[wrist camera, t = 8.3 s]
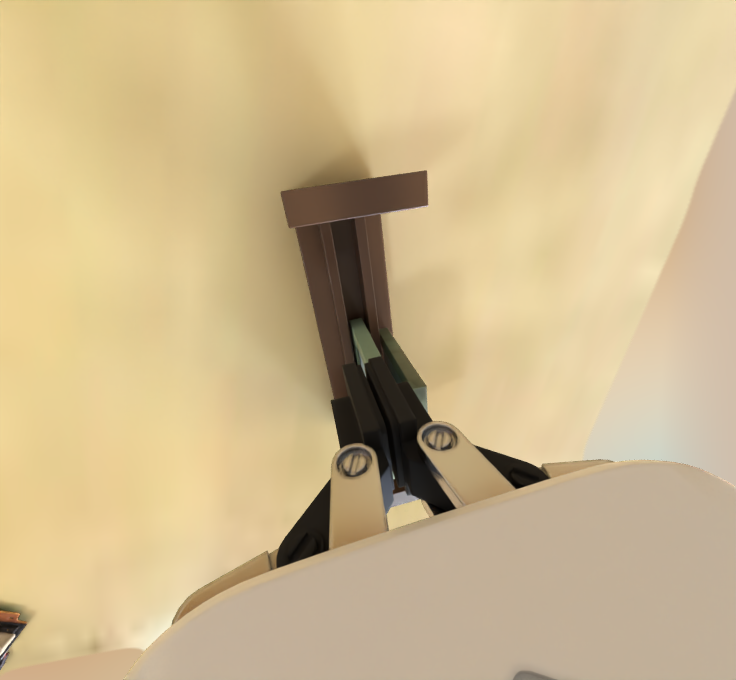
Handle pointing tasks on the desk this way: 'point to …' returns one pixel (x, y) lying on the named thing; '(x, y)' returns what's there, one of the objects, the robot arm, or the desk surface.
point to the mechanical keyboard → (9, 632)
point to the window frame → (354, 270)
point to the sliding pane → (362, 344)
